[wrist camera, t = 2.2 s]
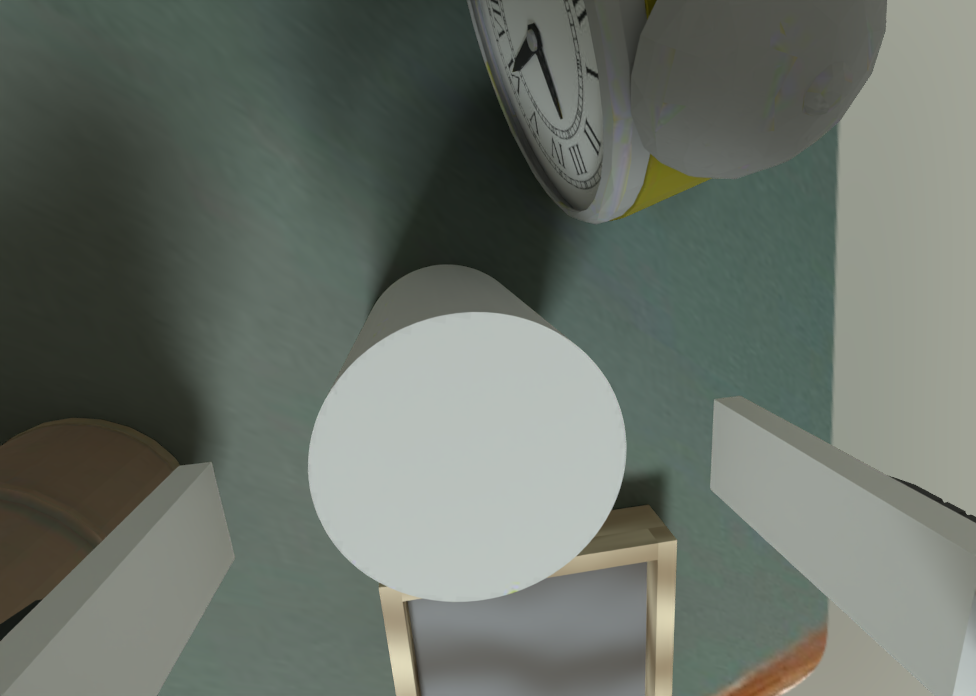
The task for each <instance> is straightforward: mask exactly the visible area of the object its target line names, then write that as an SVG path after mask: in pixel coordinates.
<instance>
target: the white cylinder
mask: <svg viewBox="0 0 976 696" xmlns="http://www.w3.org/2000/svg"><path fill="white" fill-rule="evenodd" d="M625 462H626V434H625V427H624V421H623V417H622V413H621V410H620V407H619V404H618V401H617V399H616V396H615V394H614V392H613V390H612V388H611V386H610V384H609V382H608V381H607V379H606V378H605V376H604V375H603V373H602V372H601V370H600V369H599V368H598V367H597V365H596V364H595V363H594V362H593V361H592V360H591V359H590V358H589V356H588V355H587V354H585V353H584V352H583V351H582V350H581V349H580V348H579V347H578V346H576V345H575V344H574V343H573V342H572V341H570V340H569V339H568V338H567V337H565V336H564V335H563V334H562V333H561V332H559V331H558V330H557V329H556V328H554V327H553V326H552V325H551V324H550V323H548V322H547V321H546V320H545V319H543V318H542V317H541V316H540V315H539V314H537V313H536V312H535V311H534V310H532V309H531V308H530V307H529V306H528V305H526V304H525V303H524V302H523V301H521V300H520V299H519V298H518V297H517V296H515V295H514V294H513V293H512V292H510V291H509V290H508V289H507V288H505V287H504V286H503V285H502V284H501V283H499V282H498V281H497V280H495V279H494V278H492V277H491V276H489V275H487V274H485V273H483V272H481V271H479V270H476V269H473V268H470V267H466V266H460V265H434V266H429V267H424V268H421V269H418V270H416V271H413V272H411V273H409V274H407V275H405V276H403V277H402V278H400V279H399V280H397V281H396V282H394V283H393V284H392V285H391V286H390V287H389V288H388V289H387V290H386V291H385V292H384V293H383V294H382V295H381V296H380V298H379V299H378V300H377V302H376V303H375V305H374V307H373V308H372V310H371V312H370V314H369V316H368V318H367V320H366V322H365V324H364V326H363V328H362V330H361V332H360V333H359V335H358V337H357V339H356V341H355V343H354V345H353V347H352V349H351V351H350V353H349V355H348V357H347V359H346V361H345V363H344V364H343V366H342V368H341V370H340V372H339V374H338V376H337V378H336V380H335V382H334V384H333V386H332V388H331V390H330V392H329V393H328V395H327V397H326V399H325V401H324V403H323V405H322V407H321V410H320V412H319V414H318V417H317V420H316V422H315V425H314V429H313V432H312V436H311V442H310V447H309V457H308V475H309V485H310V490H311V495H312V499H313V503H314V506H315V509H316V512H317V514H318V517H319V519H320V521H321V523H322V525H323V527H324V529H325V531H326V532H327V534H328V536H329V537H330V539H331V540H332V541H333V543H334V544H335V546H336V547H337V548H338V549H339V550H340V552H341V553H342V554H343V555H344V556H345V557H346V558H347V559H348V560H349V561H350V562H351V563H352V564H353V565H355V566H356V567H357V568H358V569H359V570H361V571H362V572H364V573H365V574H366V575H368V576H369V577H371V578H372V579H374V580H376V581H377V582H379V583H381V584H383V585H385V586H387V587H389V588H392V589H394V590H396V591H399V592H402V593H405V594H408V595H411V596H415V597H419V598H424V599H429V600H436V601H446V602H468V601H479V600H486V599H491V598H496V597H501V596H504V595H508V594H511V593H514V592H517V591H520V590H522V589H525V588H527V587H529V586H532V585H534V584H536V583H538V582H540V581H542V580H544V579H545V578H547V577H549V576H550V575H552V574H554V573H555V572H556V571H558V570H559V569H561V568H562V567H564V566H565V565H566V564H567V563H569V562H570V561H571V560H572V559H573V558H575V557H576V556H577V555H578V554H579V553H580V552H581V551H582V550H583V549H584V548H585V547H586V546H587V545H588V544H589V542H590V541H591V540H592V539H593V538H594V536H595V535H596V534H597V532H598V531H599V530H600V528H601V527H602V525H603V524H604V522H605V520H606V519H607V517H608V515H609V513H610V511H611V510H612V507H613V505H614V503H615V501H616V498H617V496H618V493H619V490H620V487H621V483H622V479H623V475H624V469H625Z"/></svg>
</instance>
